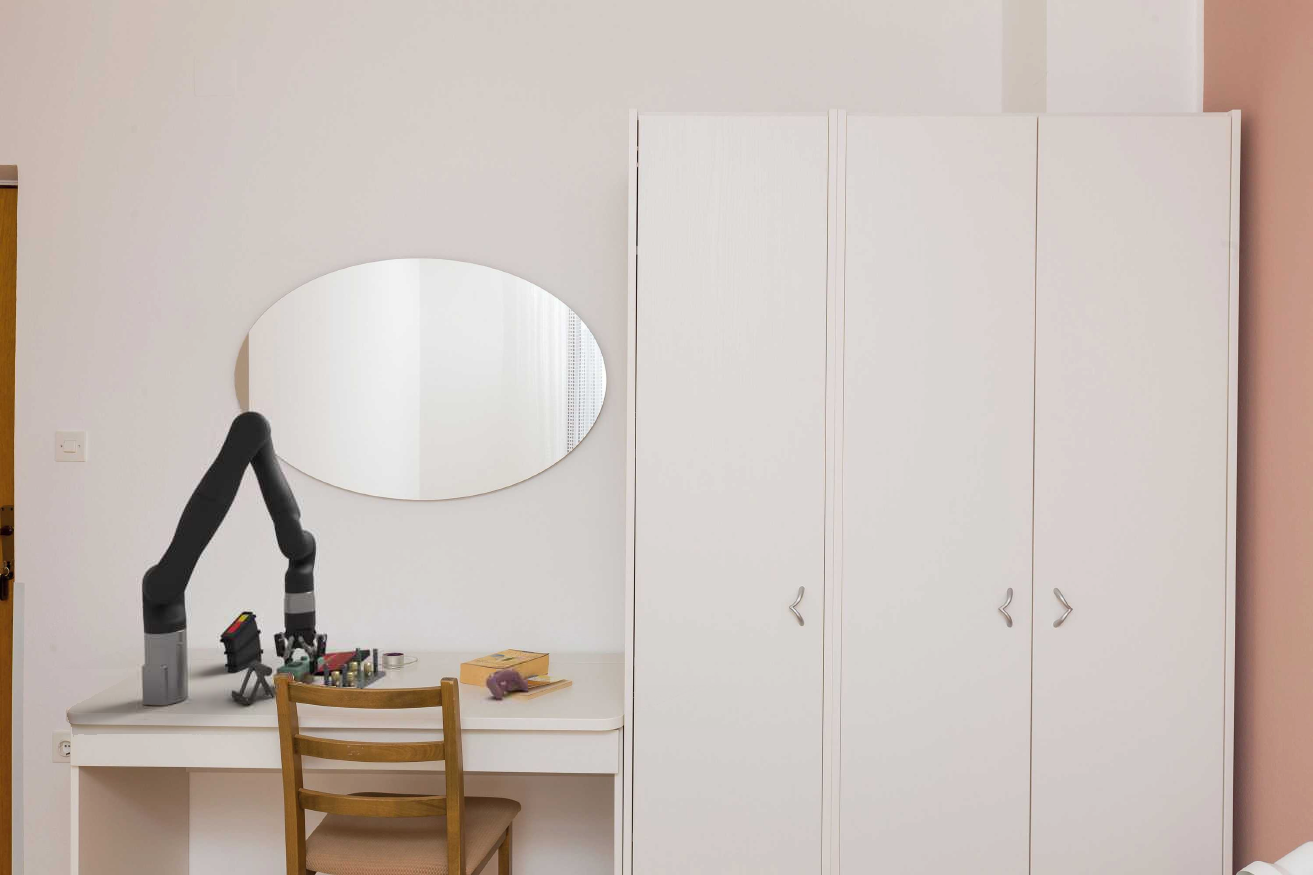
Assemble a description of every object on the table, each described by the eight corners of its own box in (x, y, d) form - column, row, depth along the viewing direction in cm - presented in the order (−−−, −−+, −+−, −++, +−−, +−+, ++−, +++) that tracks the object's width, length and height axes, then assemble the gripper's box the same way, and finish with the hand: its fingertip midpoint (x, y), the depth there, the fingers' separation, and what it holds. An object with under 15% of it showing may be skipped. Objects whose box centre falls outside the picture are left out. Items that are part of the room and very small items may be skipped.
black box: (270, 653, 263) (254, 610, 256) (243, 685, 251) (226, 641, 245) (258, 652, 263) (242, 610, 257) (231, 684, 252) (214, 640, 245)
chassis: (352, 693, 228) (352, 665, 228) (316, 691, 230) (315, 664, 230) (385, 674, 245) (385, 648, 245) (351, 673, 247) (350, 647, 247)
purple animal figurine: (519, 694, 231) (510, 667, 233) (530, 689, 229) (521, 662, 230) (489, 704, 224) (480, 676, 225) (500, 698, 221) (491, 670, 223)
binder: (370, 648, 266) (346, 668, 245) (370, 656, 266) (347, 677, 245) (314, 651, 265) (286, 672, 244) (314, 659, 266) (287, 681, 245)
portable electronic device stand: (231, 699, 225) (230, 665, 225) (263, 692, 231) (262, 659, 231) (244, 706, 219) (244, 672, 219) (278, 699, 225) (277, 665, 224)
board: (298, 675, 230) (298, 666, 230) (276, 674, 232) (276, 665, 232) (324, 663, 242) (324, 654, 242) (303, 662, 243) (303, 653, 243)
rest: (296, 689, 233) (296, 673, 233) (288, 688, 233) (287, 673, 233) (314, 680, 241) (314, 664, 241) (306, 679, 241) (305, 664, 241)
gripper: (265, 611, 234) (267, 676, 235) (317, 612, 231) (318, 678, 232) (283, 605, 242) (284, 668, 242) (333, 606, 239) (334, 670, 239)
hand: (301, 673), depth 237 cm, fingers closed on board, 6 cm apart
